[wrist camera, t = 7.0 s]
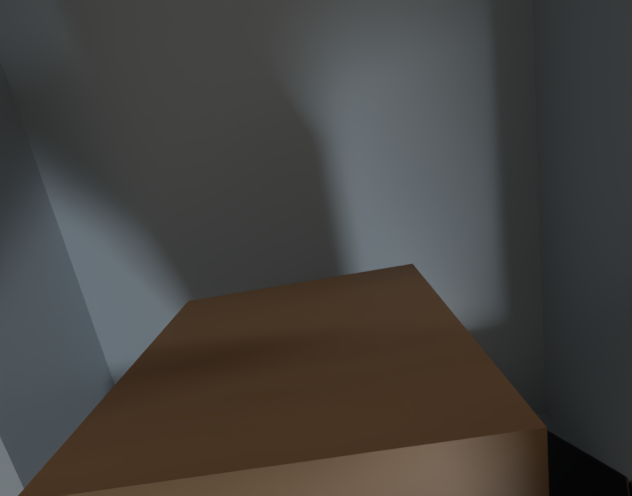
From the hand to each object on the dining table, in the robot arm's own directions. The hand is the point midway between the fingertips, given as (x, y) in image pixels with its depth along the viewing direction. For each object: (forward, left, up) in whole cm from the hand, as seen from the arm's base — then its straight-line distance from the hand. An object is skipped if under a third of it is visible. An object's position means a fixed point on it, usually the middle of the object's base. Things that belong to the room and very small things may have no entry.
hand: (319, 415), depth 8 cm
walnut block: (0, 0, -1) cm, 1 cm away
